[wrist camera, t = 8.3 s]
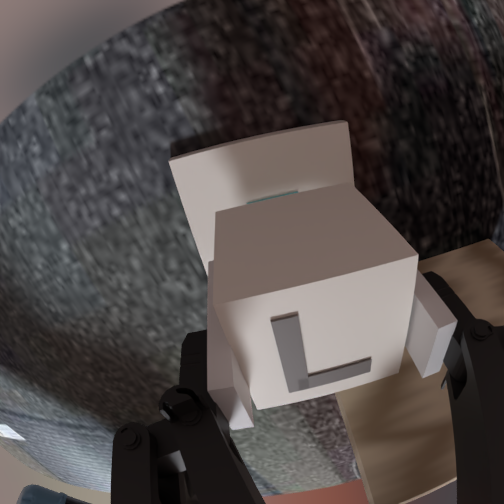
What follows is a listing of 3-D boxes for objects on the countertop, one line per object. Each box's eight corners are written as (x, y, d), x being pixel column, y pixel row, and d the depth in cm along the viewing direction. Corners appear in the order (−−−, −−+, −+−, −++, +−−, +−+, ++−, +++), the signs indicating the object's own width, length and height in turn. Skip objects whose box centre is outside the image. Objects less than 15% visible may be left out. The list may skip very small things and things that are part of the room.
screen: (311, 347, 26) (363, 524, 13) (303, 293, 23) (376, 511, 9) (476, 291, 26) (562, 408, 12) (488, 238, 22) (601, 359, 9)
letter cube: (246, 312, 17) (257, 411, 12) (215, 211, 14) (213, 307, 8) (356, 285, 16) (401, 373, 11) (351, 181, 13) (423, 255, 8)
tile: (217, 294, 22) (217, 303, 21) (170, 157, 17) (168, 162, 16) (354, 261, 22) (359, 268, 21) (342, 119, 17) (348, 122, 16)
